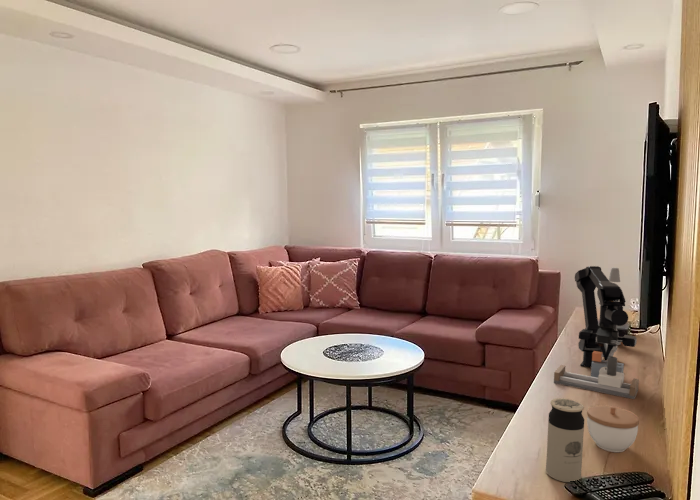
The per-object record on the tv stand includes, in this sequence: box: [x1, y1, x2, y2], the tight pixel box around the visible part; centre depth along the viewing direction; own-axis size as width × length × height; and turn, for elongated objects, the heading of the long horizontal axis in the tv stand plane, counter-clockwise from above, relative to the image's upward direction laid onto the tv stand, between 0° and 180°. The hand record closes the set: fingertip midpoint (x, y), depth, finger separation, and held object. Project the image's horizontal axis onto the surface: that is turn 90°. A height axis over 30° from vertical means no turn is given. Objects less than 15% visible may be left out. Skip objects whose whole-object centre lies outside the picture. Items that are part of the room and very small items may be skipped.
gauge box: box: [590, 359, 625, 378], centre depth 194 cm, size 6×10×6 cm, turn 55°
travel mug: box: [545, 397, 585, 483], centre depth 127 cm, size 8×8×18 cm
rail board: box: [553, 364, 640, 400], centre depth 187 cm, size 10×26×4 cm, turn 55°
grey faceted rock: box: [602, 344, 618, 358], centre depth 219 cm, size 6×7×7 cm
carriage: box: [598, 356, 625, 388], centre depth 183 cm, size 8×7×9 cm
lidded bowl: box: [586, 404, 640, 453], centre depth 142 cm, size 13×13×11 cm
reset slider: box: [592, 351, 603, 362], centre depth 196 cm, size 3×3×3 cm
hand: (605, 360), depth 194 cm, fingers closed
